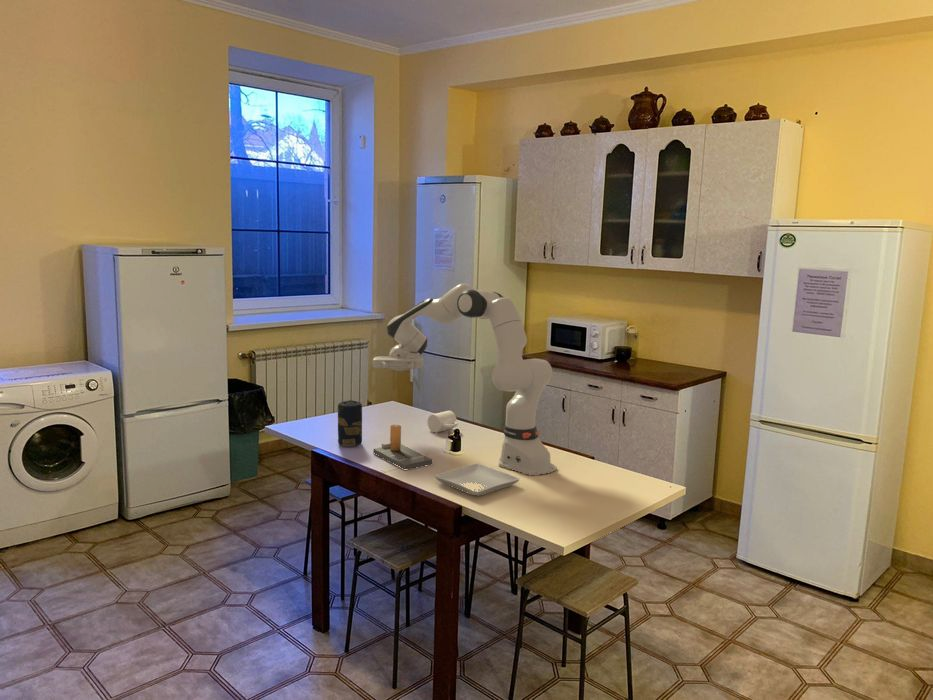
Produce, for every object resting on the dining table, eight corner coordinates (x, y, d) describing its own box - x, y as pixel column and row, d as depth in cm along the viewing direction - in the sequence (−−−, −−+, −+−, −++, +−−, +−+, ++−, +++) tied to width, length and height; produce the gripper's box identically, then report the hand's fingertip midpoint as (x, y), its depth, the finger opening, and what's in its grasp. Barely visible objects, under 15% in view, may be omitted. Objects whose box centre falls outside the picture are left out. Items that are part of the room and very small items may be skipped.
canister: (363, 447, 278) (363, 403, 275) (338, 448, 276) (338, 403, 273) (360, 440, 287) (361, 397, 284) (336, 441, 285) (336, 397, 282)
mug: (427, 430, 304) (427, 412, 303) (443, 426, 311) (444, 408, 310) (446, 437, 296) (447, 418, 294) (463, 432, 303) (464, 414, 302)
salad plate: (476, 470, 257) (476, 461, 256) (520, 487, 242) (521, 477, 242) (432, 484, 242) (432, 474, 242) (476, 502, 227) (477, 492, 227)
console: (432, 464, 261) (432, 455, 260) (404, 470, 254) (404, 461, 253) (400, 448, 278) (400, 440, 278) (373, 453, 271) (373, 445, 270)
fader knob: (402, 449, 269) (403, 425, 267) (393, 451, 267) (394, 427, 265) (397, 446, 272) (397, 423, 271) (388, 448, 270) (388, 424, 268)
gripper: (373, 351, 289) (370, 358, 275) (423, 352, 290) (423, 359, 276) (373, 367, 290) (370, 374, 276) (423, 368, 291) (423, 375, 278)
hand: (397, 366), depth 276 cm, fingers open, 8 cm apart
